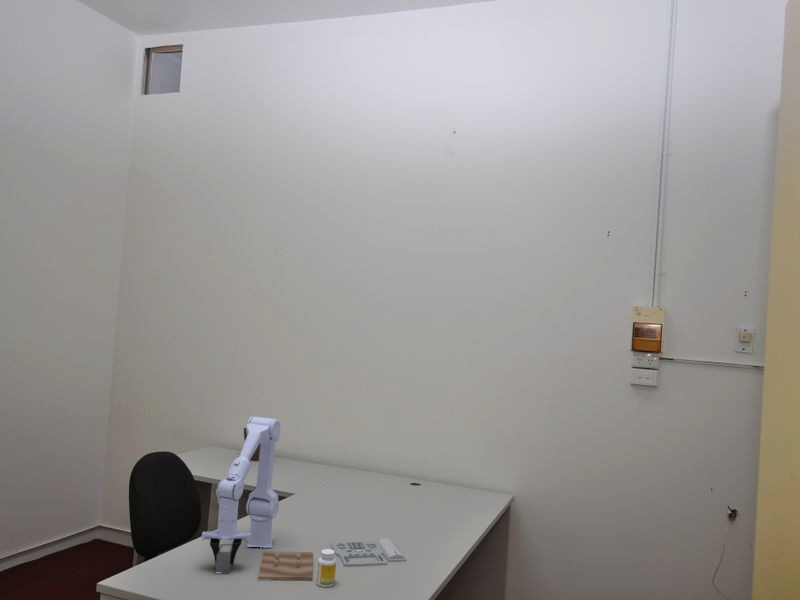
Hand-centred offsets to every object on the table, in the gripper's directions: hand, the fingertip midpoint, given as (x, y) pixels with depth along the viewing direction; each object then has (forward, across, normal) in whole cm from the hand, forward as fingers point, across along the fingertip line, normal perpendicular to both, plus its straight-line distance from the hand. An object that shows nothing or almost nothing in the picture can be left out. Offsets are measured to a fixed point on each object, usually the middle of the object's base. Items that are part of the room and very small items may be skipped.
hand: (224, 563), depth 194 cm
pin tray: (+2, +19, +2) cm, 19 cm away
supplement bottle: (+2, +31, -10) cm, 33 cm away
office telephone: (+2, +46, +14) cm, 48 cm away
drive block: (+2, 0, 0) cm, 2 cm away
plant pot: (+2, -4, +143) cm, 143 cm away
